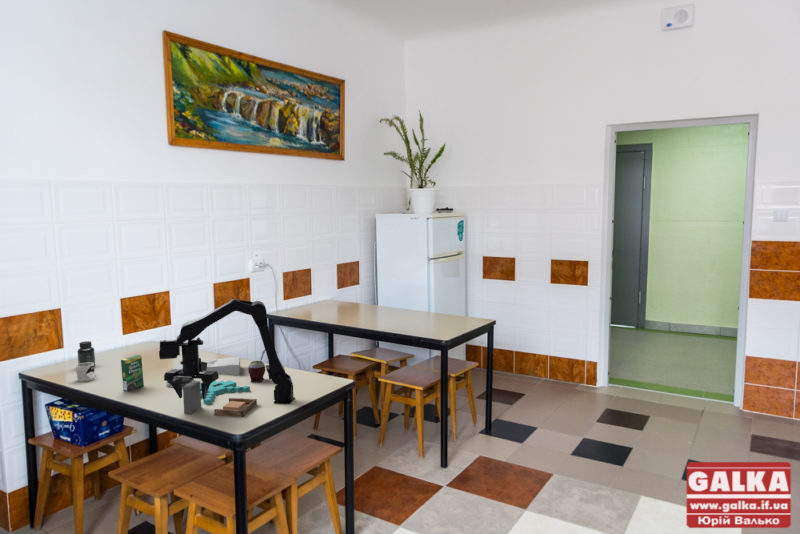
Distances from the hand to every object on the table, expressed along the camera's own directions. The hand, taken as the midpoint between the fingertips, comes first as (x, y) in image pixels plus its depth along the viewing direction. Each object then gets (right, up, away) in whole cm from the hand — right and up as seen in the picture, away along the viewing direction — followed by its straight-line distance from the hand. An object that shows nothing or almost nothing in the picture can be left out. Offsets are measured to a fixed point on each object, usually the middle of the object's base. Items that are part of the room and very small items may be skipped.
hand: (192, 398), depth 215 cm
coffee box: (-33, -2, +26) cm, 42 cm away
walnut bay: (+15, -4, +1) cm, 16 cm away
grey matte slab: (0, -5, 0) cm, 5 cm away
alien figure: (+1, -3, +20) cm, 21 cm away
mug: (-60, 0, +40) cm, 72 cm away
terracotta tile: (+15, -5, +2) cm, 16 cm away
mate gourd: (+16, 0, +35) cm, 39 cm away
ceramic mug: (-16, -1, +32) cm, 36 cm away
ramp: (-5, +1, +51) cm, 51 cm away
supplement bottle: (-68, +1, +56) cm, 88 cm away
